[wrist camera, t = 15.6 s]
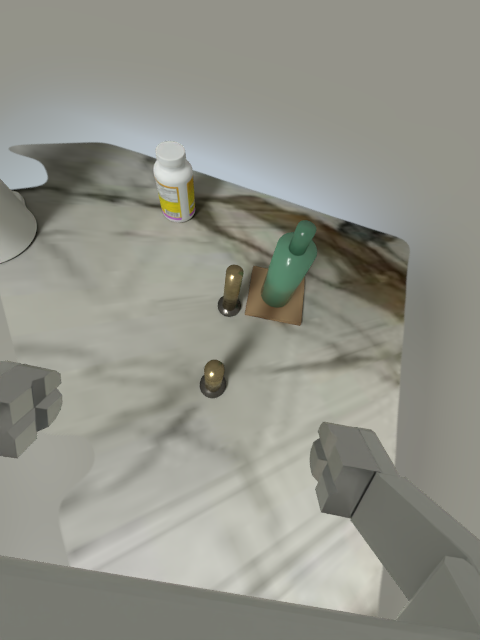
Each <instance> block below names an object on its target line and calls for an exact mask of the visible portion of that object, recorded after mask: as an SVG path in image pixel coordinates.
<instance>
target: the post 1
mask: <svg viewBox="0 0 480 640" xmlns="http://www.w3.org/2000/svg"><path fill="white" fill-rule="evenodd" d="M224 372H225V368H224V365H223V364H222V362H220V361H218V360H211V361H209V362H208V363H207V364H206V365H205V368H204V374H205V375H204V376H203V377H202V378H201V381H200V389H201V392H202V393H203V394H204V395H205V396H206V397H208V398H217V397H219V396H220V395H222V394H223V392H224V390H225V387H226V381H225V378H224V377H223V375H224Z"/></svg>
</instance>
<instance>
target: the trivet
mask: <svg viewBox="0 0 480 640" xmlns="http://www.w3.org/2000/svg"><path fill="white" fill-rule="evenodd" d="M267 271H268V269H267V268H262V267H257V266H253V271H252V276H251V282H250V288H249V293H248V299H247V305H246V310H245V315H249V316H254V317H259V318H264V319H269V320H274V321H279V322H284V323H289V324H294V325H299V326H300V325H301V320H302V307H303V295H304V282H305V276H304V278H303V280H302V281H301V283H300V285H299V286H298V288H297V290H296V291H295V293H294V295H293V296H292V298H291V300H290V301H289V303H288V304H287V305H285V306H283V307H280V308H275V307H271V306H269V305H267V304H266V303H265V302H264V301H263V299H262V297H261V288H262V285H263V283H264V280H265V277H266V274H267Z"/></svg>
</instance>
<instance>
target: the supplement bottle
mask: <svg viewBox="0 0 480 640" xmlns="http://www.w3.org/2000/svg"><path fill="white" fill-rule="evenodd" d="M156 158H157V161H156V163H155V165H154V176H155V181H156V185H157V190H158V194H159V199H160V204H161V208H162V212H163V214H164V216H165V217H166V218H167V219H169V220H171V221H173V222H185V221H187V220H189V219H191V218H192V217H193V215H194V213H195V198H194V184H193V170H192V167H191V164H190V163H189V162H188V161H187V160H186V154H185V149H184V147H183V146H182V145H181V144H179V143H177V142H174V141H165V142H162V143H160V144H159V145H158V146H157V147H156Z"/></svg>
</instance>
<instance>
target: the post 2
mask: <svg viewBox="0 0 480 640" xmlns="http://www.w3.org/2000/svg"><path fill="white" fill-rule="evenodd" d="M242 277H243V269H242V268H241V267H240V266H238V265H231V266H229V267H228V268H227V270H226V279H225V287H224V296H223V297H221V298H220V300H219V301H218V310H219V311H220V313H221V314H223V315H224V316H228V317H231V316H235V315H236V314H237V313H238V312H239V310H240V307H241V304H240V301H239V299H238V295H239V291H240V286H241V282H242Z"/></svg>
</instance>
